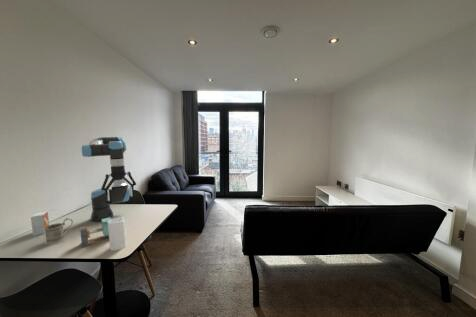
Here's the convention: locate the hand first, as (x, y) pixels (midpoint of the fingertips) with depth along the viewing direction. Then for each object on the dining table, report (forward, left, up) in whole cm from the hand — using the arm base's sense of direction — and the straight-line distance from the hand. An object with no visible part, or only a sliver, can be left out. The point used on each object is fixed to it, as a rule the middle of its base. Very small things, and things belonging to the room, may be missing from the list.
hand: (120, 198), depth 132 cm
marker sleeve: (0, -9, -21) cm, 23 cm away
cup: (+16, -6, -24) cm, 30 cm away
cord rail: (0, -13, -24) cm, 27 cm away
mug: (-19, -32, -24) cm, 45 cm away
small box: (-41, -42, -24) cm, 64 cm away
